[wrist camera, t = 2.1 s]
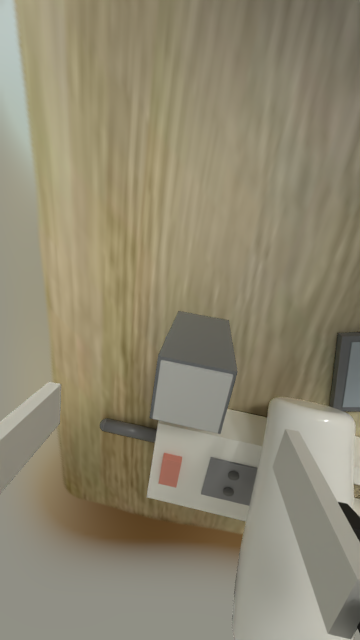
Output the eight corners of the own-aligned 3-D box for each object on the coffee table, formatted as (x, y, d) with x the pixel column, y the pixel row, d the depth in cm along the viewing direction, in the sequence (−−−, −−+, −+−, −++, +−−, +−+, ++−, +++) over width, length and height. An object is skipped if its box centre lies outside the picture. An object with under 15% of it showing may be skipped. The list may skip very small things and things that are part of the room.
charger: (178, 311, 20) (157, 357, 13) (228, 320, 20) (237, 373, 12) (171, 356, 22) (148, 422, 14) (217, 365, 22) (220, 438, 14)
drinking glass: (389, 429, 13) (366, 775, 11) (355, 409, 19) (336, 628, 17) (255, 398, 15) (219, 669, 14) (263, 389, 22) (239, 576, 20)
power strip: (101, 450, 27) (82, 488, 23) (104, 382, 24) (83, 412, 20) (385, 517, 25) (417, 571, 21) (430, 452, 22) (478, 500, 18)
